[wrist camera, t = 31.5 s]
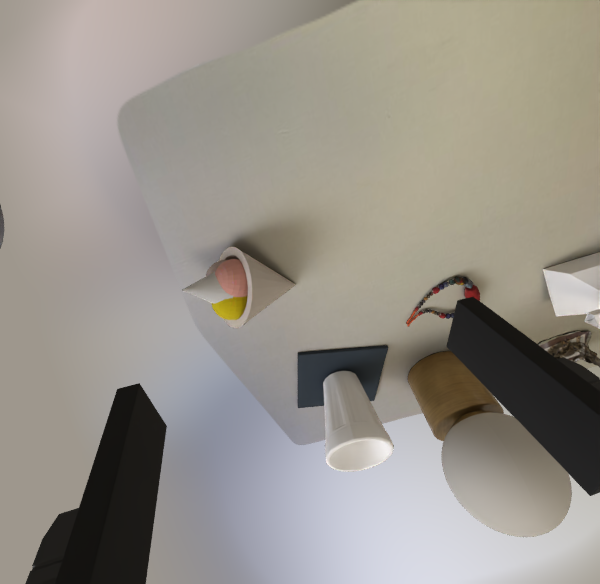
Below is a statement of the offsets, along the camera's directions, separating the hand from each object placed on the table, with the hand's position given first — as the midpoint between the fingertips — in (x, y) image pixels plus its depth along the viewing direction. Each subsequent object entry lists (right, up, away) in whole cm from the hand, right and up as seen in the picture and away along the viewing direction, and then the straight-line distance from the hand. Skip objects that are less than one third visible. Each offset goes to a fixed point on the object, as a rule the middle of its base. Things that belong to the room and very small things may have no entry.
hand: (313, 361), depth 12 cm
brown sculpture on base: (+48, -8, +44) cm, 66 cm away
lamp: (+24, -10, +42) cm, 50 cm away
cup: (+7, -13, +41) cm, 43 cm away
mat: (+7, -12, +41) cm, 43 cm away
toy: (-7, +6, +25) cm, 27 cm away
